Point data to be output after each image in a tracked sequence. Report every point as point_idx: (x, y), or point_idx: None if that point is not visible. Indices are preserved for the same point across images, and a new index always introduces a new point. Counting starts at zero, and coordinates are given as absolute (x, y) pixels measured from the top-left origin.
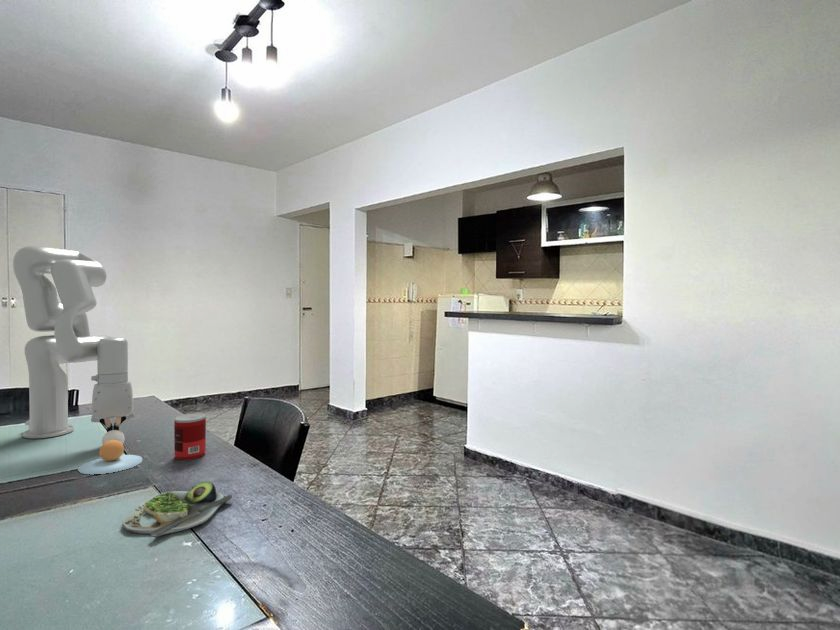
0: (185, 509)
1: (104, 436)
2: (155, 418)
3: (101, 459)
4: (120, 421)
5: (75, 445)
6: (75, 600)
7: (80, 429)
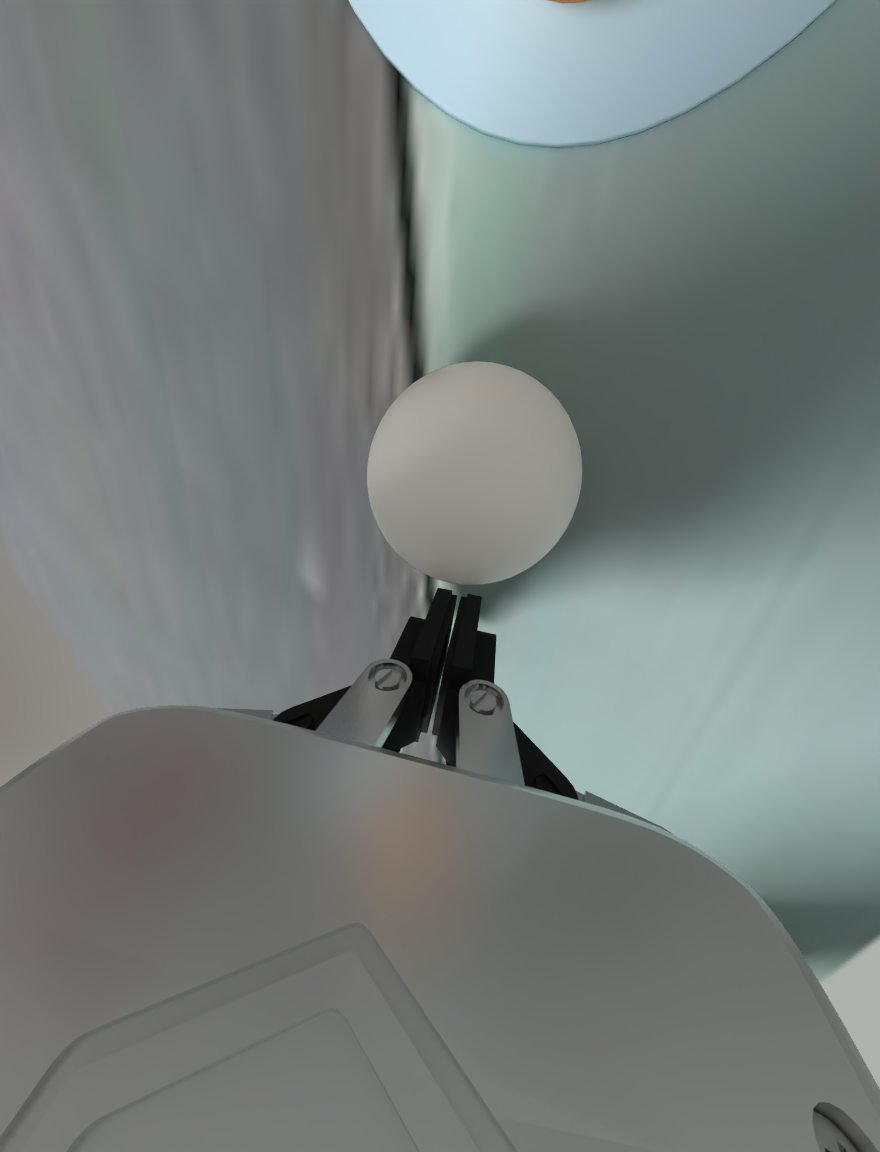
0: None
1: (569, 469)
2: None
3: (686, 10)
4: (346, 695)
5: (650, 721)
6: None
7: None
